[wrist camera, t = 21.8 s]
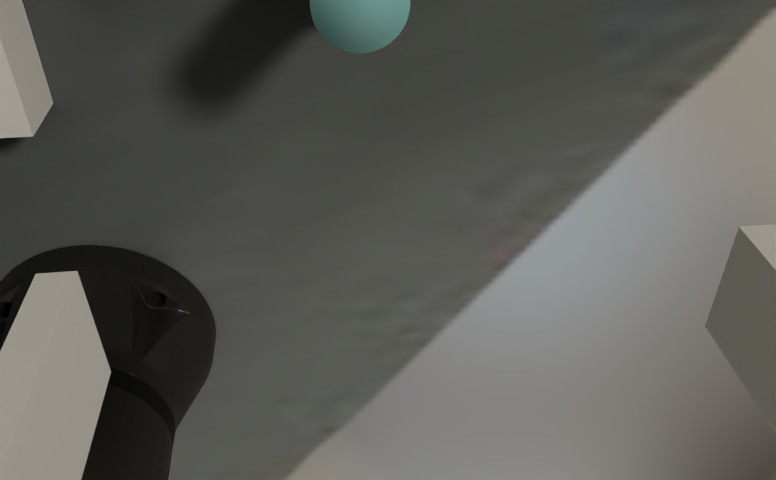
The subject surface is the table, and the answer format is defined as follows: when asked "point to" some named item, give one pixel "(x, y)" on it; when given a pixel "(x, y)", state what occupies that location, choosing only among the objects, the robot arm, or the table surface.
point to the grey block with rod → (20, 75)
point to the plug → (359, 22)
